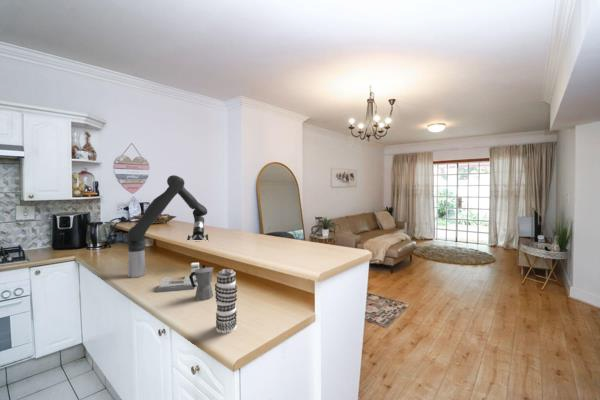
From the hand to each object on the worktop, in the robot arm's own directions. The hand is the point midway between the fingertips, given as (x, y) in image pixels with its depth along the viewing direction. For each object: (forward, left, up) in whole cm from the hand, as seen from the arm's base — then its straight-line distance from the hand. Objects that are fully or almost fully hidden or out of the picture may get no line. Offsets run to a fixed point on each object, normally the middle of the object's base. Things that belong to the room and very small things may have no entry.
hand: (197, 247), depth 188 cm
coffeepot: (+8, -48, -17) cm, 51 cm away
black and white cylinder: (+21, -83, -17) cm, 87 cm away
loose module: (0, -12, -17) cm, 20 cm away
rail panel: (-8, -28, -17) cm, 33 cm away
